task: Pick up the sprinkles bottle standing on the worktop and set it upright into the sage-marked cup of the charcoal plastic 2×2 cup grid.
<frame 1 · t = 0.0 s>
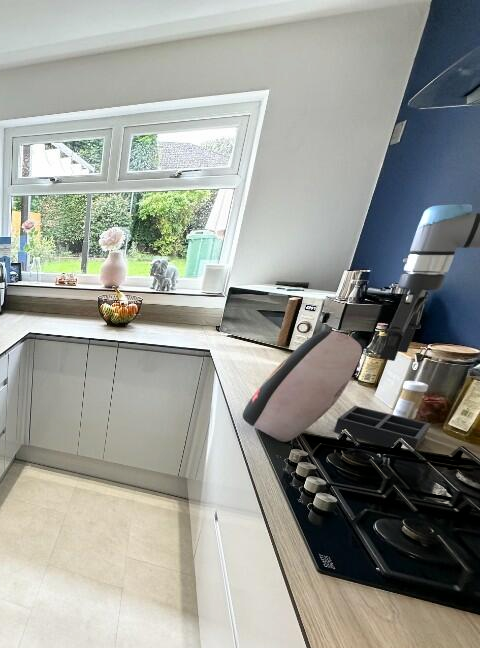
hand: (393, 355, 106), 22 cm above the worktop, tool pointing down, fingers open, 13 cm apart
grid: (377, 435, 110), on the worktop
pinkish grey rounded block: (283, 435, 111), on the worktop
sprinkles bottle: (399, 426, 116), on the worktop
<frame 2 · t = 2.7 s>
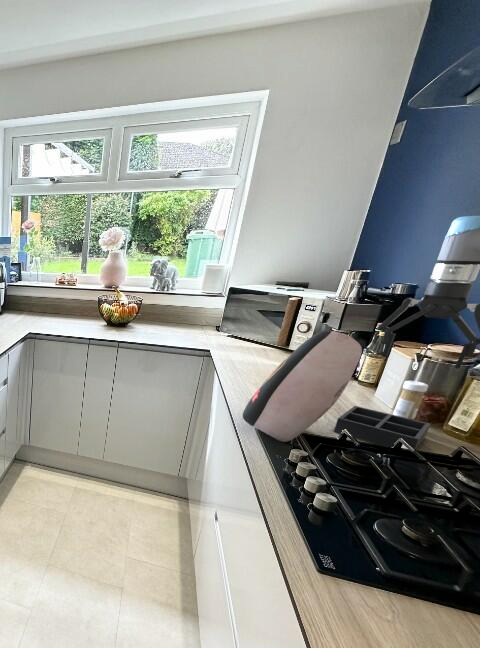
hand: (419, 361, 108), 20 cm above the worktop, tool pointing down, fingers open, 13 cm apart
nothing on the worktop moved.
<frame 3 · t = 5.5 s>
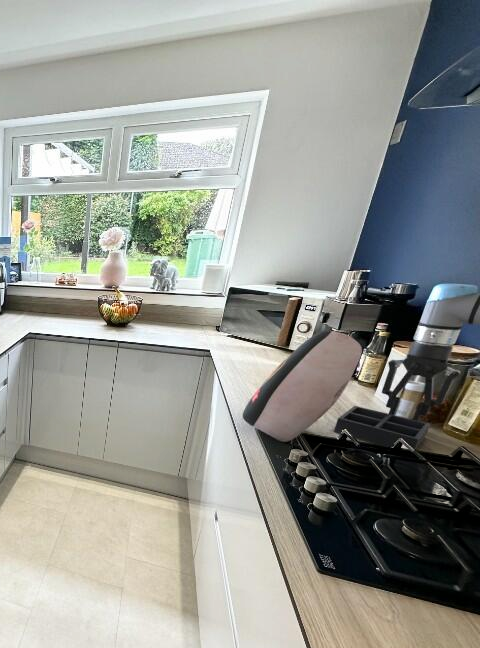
hand: (401, 421, 115), 2 cm above the worktop, tool pointing down, fingers closed on sprinkles bottle, 4 cm apart
sprinkles bottle: (399, 426, 116), on the worktop, touching gripper
everything else where it was.
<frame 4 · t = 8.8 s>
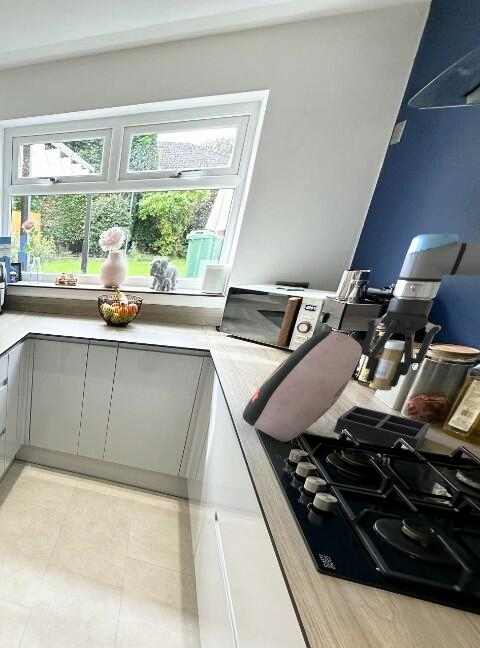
hand: (381, 383, 110), 14 cm above the worktop, tool pointing down, fingers closed on sprinkles bottle, 4 cm apart
sprinkles bottle: (379, 388, 111), point 12 cm above the worktop, touching gripper
everything else where it was.
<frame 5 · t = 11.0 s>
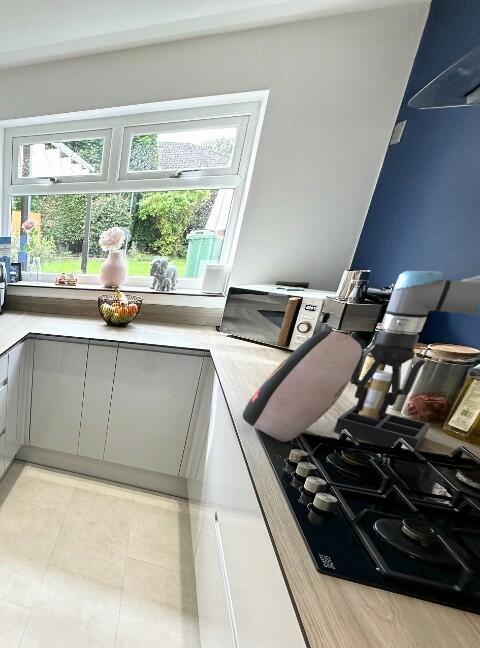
hand: (369, 411, 113), 5 cm above the worktop, tool pointing down, fingers closed on sprinkles bottle, 4 cm apart
sprinkles bottle: (367, 417, 114), point 3 cm above the worktop, touching gripper
everything else where it was.
when the fingers open (3 cm above the worktop, at t = 13.1 s): sprinkles bottle stays where it is, resting on grid.
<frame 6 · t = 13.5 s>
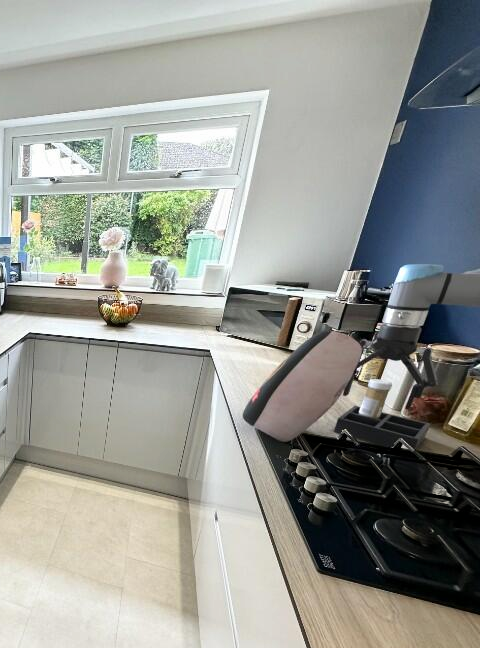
hand: (375, 401, 112), 8 cm above the worktop, tool pointing down, fingers open, 12 cm apart
sprinkles bottle: (365, 425, 115), point 1 cm above the worktop, touching grid
everything else where it was.
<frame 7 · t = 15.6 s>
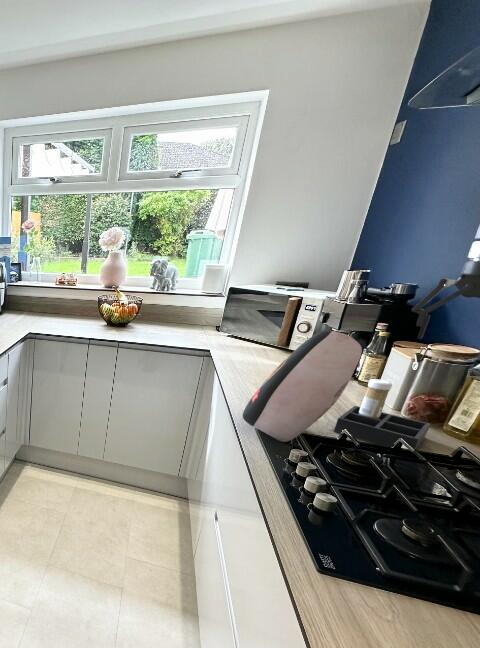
hand: (456, 342, 106), 25 cm above the worktop, tool pointing down, fingers open, 13 cm apart
nothing on the worktop moved.
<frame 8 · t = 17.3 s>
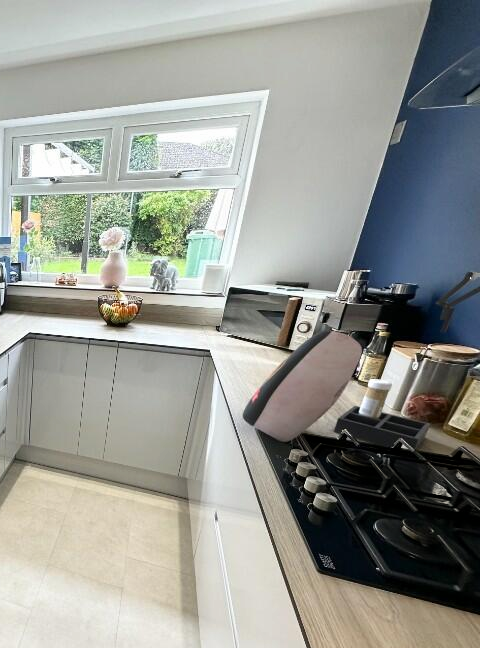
nothing on the worktop moved.
at the end: sprinkles bottle 0.5 cm from the target spot in the grid, point 0.6 cm above the grid's base; sprinkles bottle tilted 0°; the gripper is holding nothing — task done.
